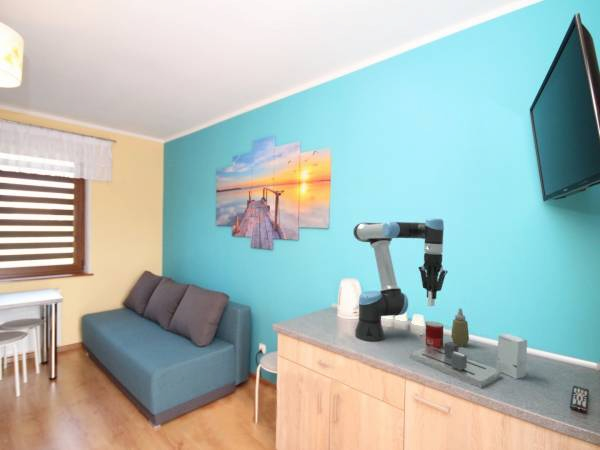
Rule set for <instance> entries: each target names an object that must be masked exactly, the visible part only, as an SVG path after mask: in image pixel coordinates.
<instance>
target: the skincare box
mask: <svg viewBox="0 0 600 450" xmlns="http://www.w3.org/2000/svg"><path fill="white" fill-rule="evenodd" d="M497 341H498V342H497V354H496V356H497V357H496V368H495V369H498V370H500V371H501V374H502V373H503V374H505V375H507V376H510V377H512V378H513V379H515V380H517V379H521V378H524V377H526V367H527V366H526V364H527V353H528V352H527V351H528V350H527V349H528V348H527V347H528V340H526V339H524V338H521V337H520V336H516V335H513V334H510V333H501V334H498V340H497Z"/></svg>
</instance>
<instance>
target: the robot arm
mask: <svg viewBox="0 0 600 450" xmlns="http://www.w3.org/2000/svg"><path fill="white" fill-rule="evenodd" d="M444 230H445V228H444V220H443V218H425V221H424V222H419V221H418V222H417V221H416V222H409V221H407V222H405V221H401V222H400V221H386V222H360V223H358V224H356V225H355V226H354V227H353V236H354V238H355V239H356V240H357V241H359V242H363V243H369V244H370V247H371V248H372V249H373V251H374V257H375V262H376V266H377V271H378V276H379V277H378V278H379V283H380V287H381V289H380V290H379V291H378V290H367V291H363V292H361V293H360V295H359V297H358V299H359V300H358V322H357V324H356V328H355V331H354V336H355V337H356V338H357V339H360V340H362V341H368V342H379V341H382V340H384V339H385V332H384V330H383V326H382V317H389V316H390V317H391V316H393V317H394V316H403V315H404V314H405V313H406V312H407V311H408V308H409V299H408V296H407V295H406V294H405V293H403V292H402V289H401V288H400V287H399V286H398V284H397V278H396V275H395V270H394V266H393V265H394V263H393V260H392V256H391V251H390V245H391V241H392V240H393V239H423V240H424V247H423V248H424V249H423V251H424V254H423V265H422V266H418V271H419V272H420V278H421V285H422V288H423V289H425V290H426V298H427V307H428V306H429V307H434V306H435V301H436V300H437V292H441V291H442V289H443V284H444V281H445V278H446V275H447V274H448V270H446V269H444V268H443V265H442V263H443V251H444V250H443V249H444V247H443V246H444Z"/></svg>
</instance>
